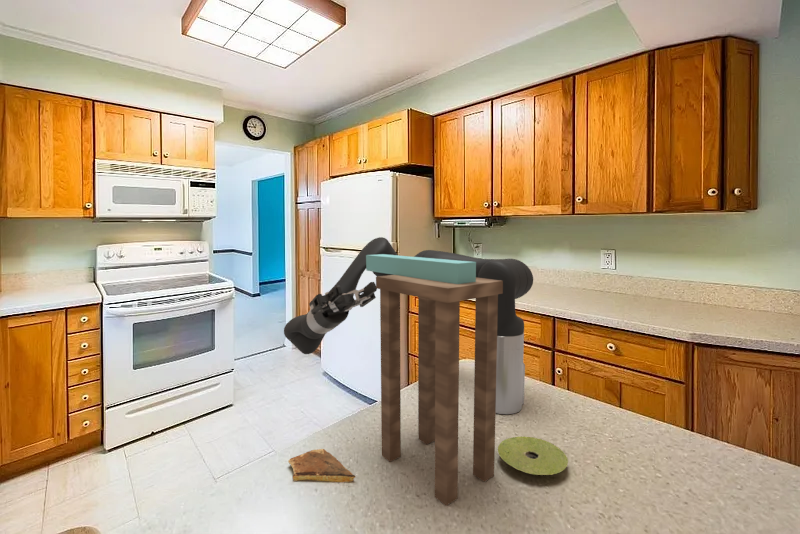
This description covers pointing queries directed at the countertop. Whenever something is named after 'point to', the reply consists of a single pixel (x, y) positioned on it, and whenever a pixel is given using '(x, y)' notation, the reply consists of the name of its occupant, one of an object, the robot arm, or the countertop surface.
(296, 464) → the brown flat wedge
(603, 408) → the countertop surface
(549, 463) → the green flat disc
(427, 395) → the walnut stand
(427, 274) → the teal block
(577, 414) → the countertop surface
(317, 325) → the robot arm
